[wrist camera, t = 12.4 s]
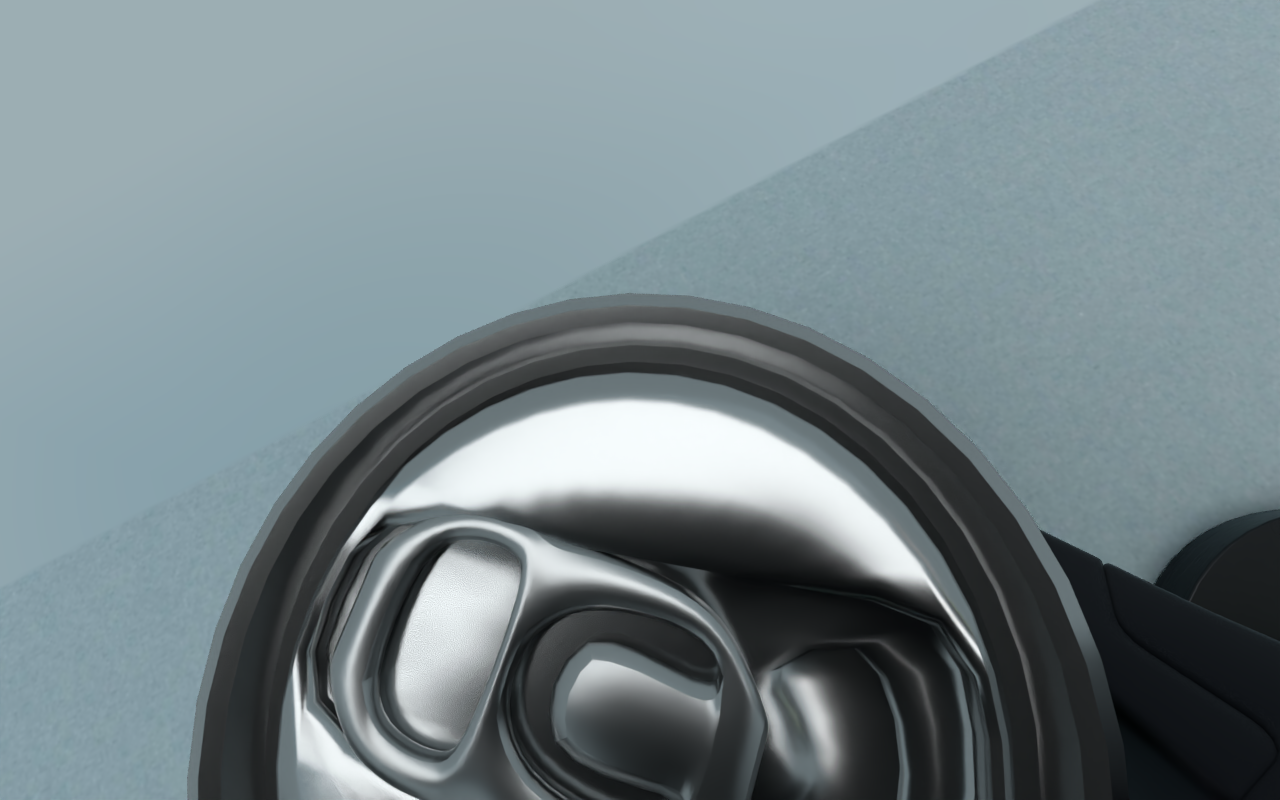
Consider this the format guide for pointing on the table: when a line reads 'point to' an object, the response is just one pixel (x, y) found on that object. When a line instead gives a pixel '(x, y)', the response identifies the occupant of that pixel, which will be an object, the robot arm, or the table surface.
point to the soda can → (651, 586)
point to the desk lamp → (1233, 572)
